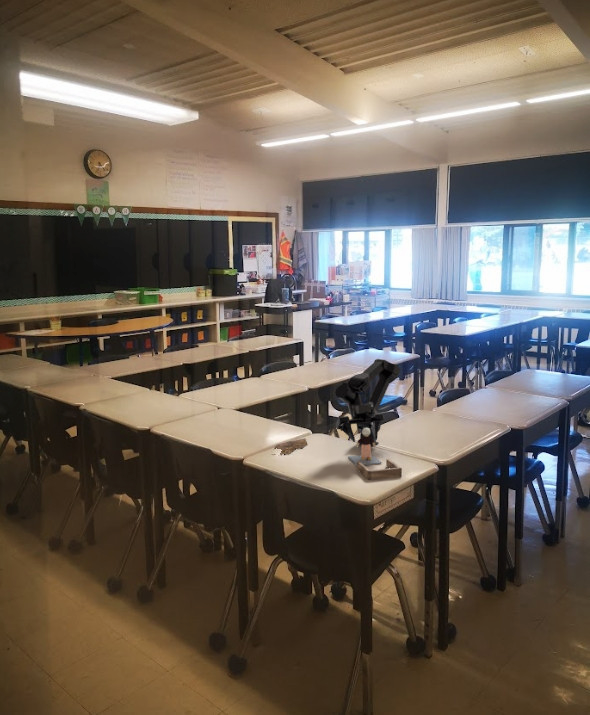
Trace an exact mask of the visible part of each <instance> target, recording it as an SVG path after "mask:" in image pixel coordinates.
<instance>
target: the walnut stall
mask: <svg viewBox="0 0 590 715" xmlns="http://www.w3.org/2000/svg"><path fill="white" fill-rule="evenodd" d="M385 463H386V464H385V467H386V466H387V467H386V468H381V469H371V470H370V469H369V468H368V467H366V465H365V466H364V465H363V464H362V463H361V462H360V461H359V462H357V465H356V470H357V471H358V472H359V473H360V474H362V476H363V477H365V478H366V479H367V480H368V481H369V480H378V479H388V478H389V477H390V478H398V477H397V476H399V477H403V476H402V475H403V474H402V472H403V468H402V467H401V466H399V465H398V464H397V463H395V462H394V461H392V460H391V459H390V458H386V461H385ZM389 468H390V469H389Z"/></svg>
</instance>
